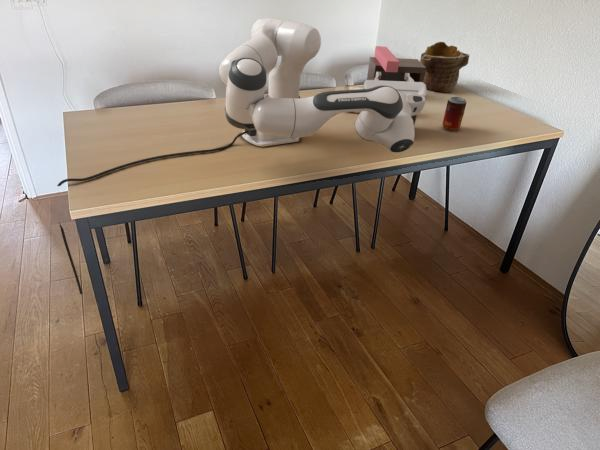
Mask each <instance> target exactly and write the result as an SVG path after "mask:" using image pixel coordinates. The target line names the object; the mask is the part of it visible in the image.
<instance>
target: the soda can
mask: <svg viewBox="0 0 600 450" xmlns="http://www.w3.org/2000/svg"><path fill="white" fill-rule="evenodd" d="M467 103H468V101H467V100H466V98H463V97H460V96H451V97H449V98H448V99H447V103H446V107H445V111H444V115H443V120H442V129H443V130H445V131H448V132H457V131H458V130H459V128H461V126H462V122H463V117H464V115H465V111H466V107H467Z"/></svg>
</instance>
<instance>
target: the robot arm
mask: <svg viewBox="0 0 600 450" xmlns="http://www.w3.org/2000/svg"><path fill="white" fill-rule="evenodd" d="M250 36H251V37H250V39H248V40H247V41H245V42H243V43H242V44H241V45H239V46H238V47H236V48H234V49H233V50H232V51H231V52H230V53H229V54H227V55H226V56H225V57H224V59H222V61H221V62H220V65H219V67H218V68H219V69H218V73H219V74H218V75H219V77H220V80H221V81H222V83H223V84H224V85H225V86H226V88H225V107H224V111H225V112H224V113H225V118H226V121H227V122H228V123H229V124H230V125H231V126H232V127H234V128H236V129H239V130H242V132H240V133H239V134H237V135H236V136H235V137H234V138H233V140H232V141H231V142H230V143H228V144H227V145H225V146H221V147H216V148H211V149H201V150H191V151H182V152H175V153H170V154H169V153H168V154H161V155H157V156H152V157H148V158H142V159H139V160H135V161H132V162H131V161H130V162H127V163H125V164H122V165H118V166H116V167H113V168H109V169H106V170H104V171H102V172H99V173H97V174H94V175H91V176H88V177H82V178H81V177H80V178H65V179H63V180H61V181H59V182H58V184H57V185H56V186H57V187H61V186H62V185H64V184H65V183H67V182H85V181H89V180H93V179H95V178H99V177H100V176H103V175H106V174H108V173H111V172H115V171H117V170H120V169H123V168H126V167H129V166H132V165H137V164H141V163H144V162H148V161H152V160H157V159H164V158H169V157H176V156H177V157H178V156H183V155H191V154H202V153H211V152H215V151H216V152H217V151H221V150H224V149H228V148H230V147H231V146H233V145H234V144H235V143H236V141H237V140H238V138H240V137H242V138H243V139H244V140H245V141H246V142H248V143H250V144H251V145H253V146H257V147H261V148H262V147H263V148H264V147H270V146H277V145H284V144H290V143H298V142H300V138H307V137H310V136H312V135H314V134H316V133H317V132H318V131H319V130H320V129H321V128H322V127H323V126H324V124H326V123H327V122H328V121H329V120H330V119H332V118H333V117H335V116H337V115H339V114H342V113H354V112H356V111H361V112H360V113H358V116H357V118H356V120H355V122H354V129H355V132H356V134H357V135H358V136H359V137H360V138H361V139H362V140H365V141H367V142H374V143H378V144H381V145H383V146H384V147H386V148H387V149H388V150H389V151H390V152H392V153H402V152H405V151H407V150H408V149H410V148H411V147H412V146H413V145H414V143H415V137H416V135H415V134H416V131H415V125H414V122H413V119H412V117H411V116H414V115H417V116H418V115H420V114H421V112H422V111H423V109H424V107H425V104H426V100H427V99H426V97H427V89H426V85H425V84H424V83H423V82H414V80H413V79H412V78H411V77H410V75H409V73H404V80H406V81H407V82H405V81H382V80H379V79H381V72H376V77H375V78H374V80H367V79H366V80H365V81H364V82H363V86H362V88H363V89H358V90H349V89H343V90H328V91H322V92H319V93H316V94H315V95H312V96H307V97H301V95H300V86H301V78H302V73H303V71H304V68H305V67H306V65H307V64H308V63H309V62H310V61H311V60H313V59H314V58H315V57H316V56H317V55H318V53H319V52H320V50H321V46H322V37H321V34H320V31H319V30H318V29H317V28H315V27H313V26H312V25H309V24H307V23H303V22H297V21H293V20H285V19H280V18H275V17H264V18H259V19H257V20H255V22H254V23H253V25H252V27H251V32H250ZM279 56H280V57H281V58H280V59H281V60H280V63H279V64H278V65H277V63H278V57H279ZM276 65H277V66H276ZM267 74H268V81H267ZM267 82H268V83H267ZM266 84H267V85H268V87H267V89H268V90H267V91H268V92H267V95H265V92H266ZM59 228H60V233H61V236H62V240H63V244H64V247H65V250H66V253H67V256H68V259H69V262H70V266H71V268H72V272H73V275H74V277H75V280H76V284H77V288H78V291H79V295H82V294H83V290H82V286H81V282H80V279H79V276H78V273H77V270H76V267H75V264H74V260H73V257H72V254H71V251H70V248H69V244H68V242H67V238H66V233H65V230H64V227H63V226H62V224H61V222H60V221H59Z"/></svg>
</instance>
